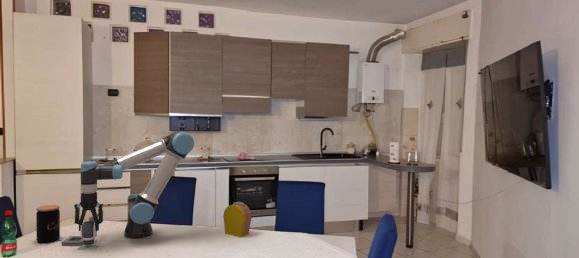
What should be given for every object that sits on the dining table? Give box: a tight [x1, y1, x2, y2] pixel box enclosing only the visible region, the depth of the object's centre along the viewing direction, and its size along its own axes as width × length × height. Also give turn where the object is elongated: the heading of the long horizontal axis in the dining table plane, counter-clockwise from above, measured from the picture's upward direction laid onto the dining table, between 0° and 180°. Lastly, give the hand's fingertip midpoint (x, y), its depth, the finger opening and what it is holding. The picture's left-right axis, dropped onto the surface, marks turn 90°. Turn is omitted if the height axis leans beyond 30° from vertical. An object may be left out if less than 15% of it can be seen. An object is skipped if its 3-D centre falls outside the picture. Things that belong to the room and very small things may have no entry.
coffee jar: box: [35, 204, 61, 244], centre depth 209 cm, size 11×11×18 cm
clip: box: [88, 211, 98, 221], centre depth 213 cm, size 14×3×4 cm, turn 5°
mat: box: [77, 243, 100, 250], centre depth 201 cm, size 8×6×1 cm
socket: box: [61, 220, 99, 247], centre depth 207 cm, size 15×10×12 cm, turn 95°
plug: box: [82, 220, 96, 245], centre depth 200 cm, size 6×6×11 cm
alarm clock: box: [222, 201, 253, 238], centre depth 228 cm, size 15×8×18 cm, turn 58°
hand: (88, 237), depth 200 cm, fingers closed on plug, 5 cm apart
